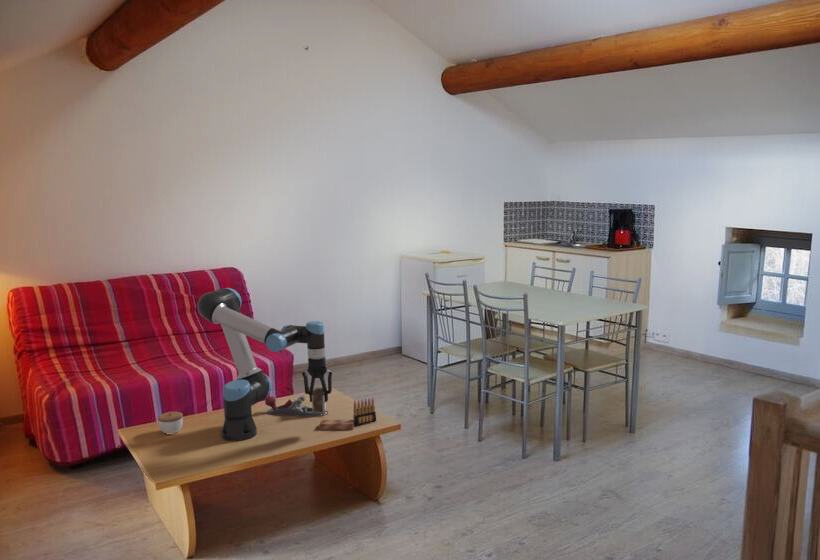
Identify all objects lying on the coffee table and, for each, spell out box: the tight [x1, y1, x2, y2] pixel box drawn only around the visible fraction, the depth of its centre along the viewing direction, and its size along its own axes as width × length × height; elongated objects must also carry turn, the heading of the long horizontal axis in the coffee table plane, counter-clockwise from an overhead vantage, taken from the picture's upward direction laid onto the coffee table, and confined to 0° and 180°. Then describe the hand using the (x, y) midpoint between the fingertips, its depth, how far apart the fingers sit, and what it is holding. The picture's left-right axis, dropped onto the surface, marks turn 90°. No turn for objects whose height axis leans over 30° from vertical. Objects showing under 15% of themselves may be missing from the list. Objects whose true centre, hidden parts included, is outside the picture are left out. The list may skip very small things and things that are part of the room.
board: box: [318, 419, 355, 430], centre depth 320 cm, size 15×6×2 cm, turn 86°
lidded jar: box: [157, 411, 184, 434], centre depth 319 cm, size 11×11×9 cm
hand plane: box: [264, 385, 329, 417], centre depth 340 cm, size 7×31×15 cm, turn 78°
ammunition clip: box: [352, 396, 377, 427], centre depth 324 cm, size 11×2×12 cm, turn 117°
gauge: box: [312, 386, 324, 412], centre depth 314 cm, size 4×10×10 cm, turn 176°
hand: (319, 408), depth 313 cm, fingers closed on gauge, 4 cm apart
